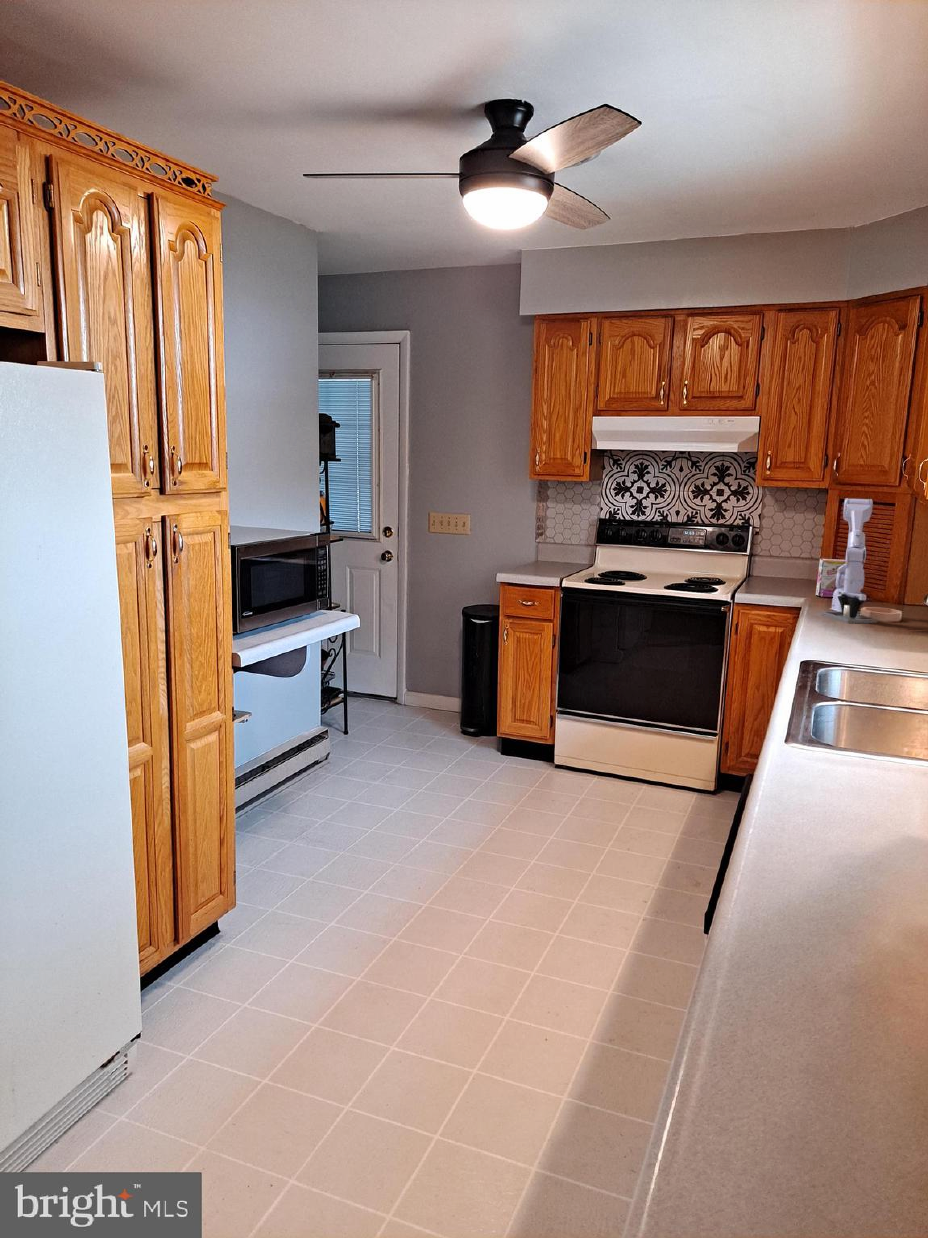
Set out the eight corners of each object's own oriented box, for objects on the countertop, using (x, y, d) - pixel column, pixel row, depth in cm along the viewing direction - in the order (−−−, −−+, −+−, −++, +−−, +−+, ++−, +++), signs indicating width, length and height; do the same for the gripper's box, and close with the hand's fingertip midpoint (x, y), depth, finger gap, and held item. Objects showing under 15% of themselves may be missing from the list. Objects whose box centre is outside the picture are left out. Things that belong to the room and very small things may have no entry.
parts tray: (821, 616, 336) (821, 611, 335) (849, 616, 338) (850, 611, 338) (847, 624, 320) (847, 619, 320) (876, 624, 322) (877, 619, 322)
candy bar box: (818, 597, 381) (822, 559, 378) (815, 595, 386) (819, 558, 383) (845, 598, 380) (849, 560, 377) (841, 597, 385) (845, 559, 382)
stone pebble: (840, 617, 330) (842, 604, 329) (850, 617, 331) (851, 604, 330) (847, 619, 327) (848, 606, 326) (856, 619, 327) (858, 606, 326)
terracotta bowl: (853, 616, 338) (854, 607, 337) (884, 615, 340) (885, 606, 340) (875, 623, 325) (876, 613, 324) (908, 622, 328) (909, 613, 327)
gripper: (831, 577, 332) (827, 612, 335) (855, 583, 318) (851, 620, 321) (848, 577, 334) (844, 612, 336) (872, 583, 320) (868, 619, 322)
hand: (848, 616), depth 329 cm, fingers closed on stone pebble, 4 cm apart
